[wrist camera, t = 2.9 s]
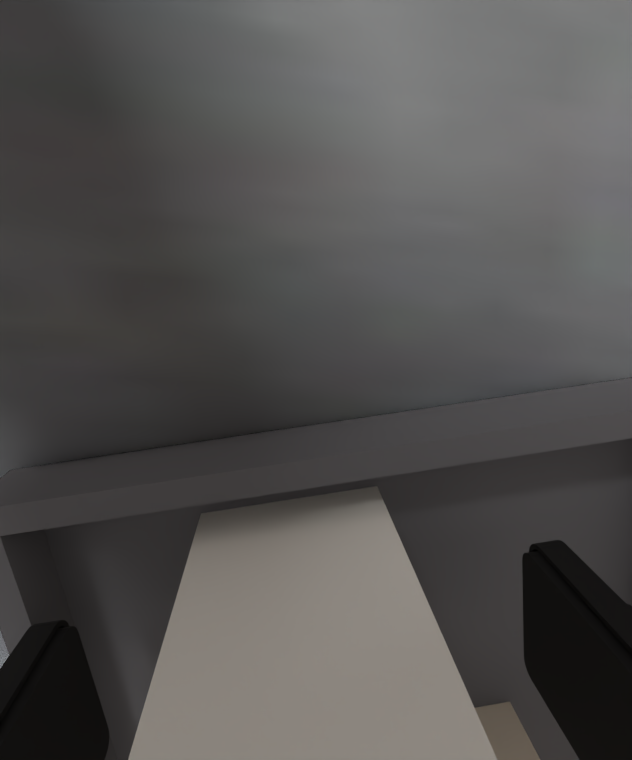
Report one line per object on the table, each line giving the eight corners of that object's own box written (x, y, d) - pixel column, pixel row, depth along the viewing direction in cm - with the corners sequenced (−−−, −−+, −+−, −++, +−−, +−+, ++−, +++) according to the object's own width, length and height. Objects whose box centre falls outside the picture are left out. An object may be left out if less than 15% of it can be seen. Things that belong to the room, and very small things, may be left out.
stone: (200, 513, 10) (105, 836, 5) (377, 485, 11) (499, 762, 5) (231, 656, 11) (185, 1067, 6) (391, 629, 12) (506, 1000, 6)
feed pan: (10, 469, 10) (-44, 512, 9) (658, 374, 11) (729, 395, 9) (149, 891, 14) (131, 981, 12) (627, 799, 15) (675, 872, 13)
